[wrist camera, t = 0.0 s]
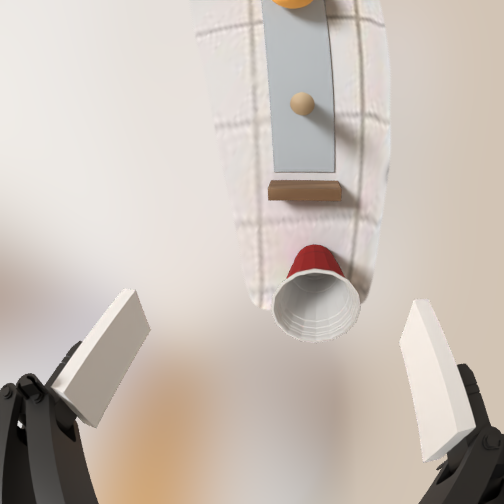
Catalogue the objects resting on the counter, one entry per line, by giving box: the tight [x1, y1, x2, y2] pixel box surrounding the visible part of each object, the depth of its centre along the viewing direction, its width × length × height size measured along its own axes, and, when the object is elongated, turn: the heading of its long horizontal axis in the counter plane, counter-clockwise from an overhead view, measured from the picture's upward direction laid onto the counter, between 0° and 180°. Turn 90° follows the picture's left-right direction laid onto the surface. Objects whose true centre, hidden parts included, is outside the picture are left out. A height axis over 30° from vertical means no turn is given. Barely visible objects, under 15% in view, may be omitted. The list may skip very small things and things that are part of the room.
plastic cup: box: [271, 245, 361, 343], centre depth 37 cm, size 11×11×12 cm
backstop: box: [268, 180, 342, 201], centre depth 35 cm, size 2×9×4 cm, turn 94°
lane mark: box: [261, 0, 334, 172], centre depth 29 cm, size 28×8×1 cm, turn 4°
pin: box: [290, 92, 315, 115], centre depth 28 cm, size 2×2×8 cm
